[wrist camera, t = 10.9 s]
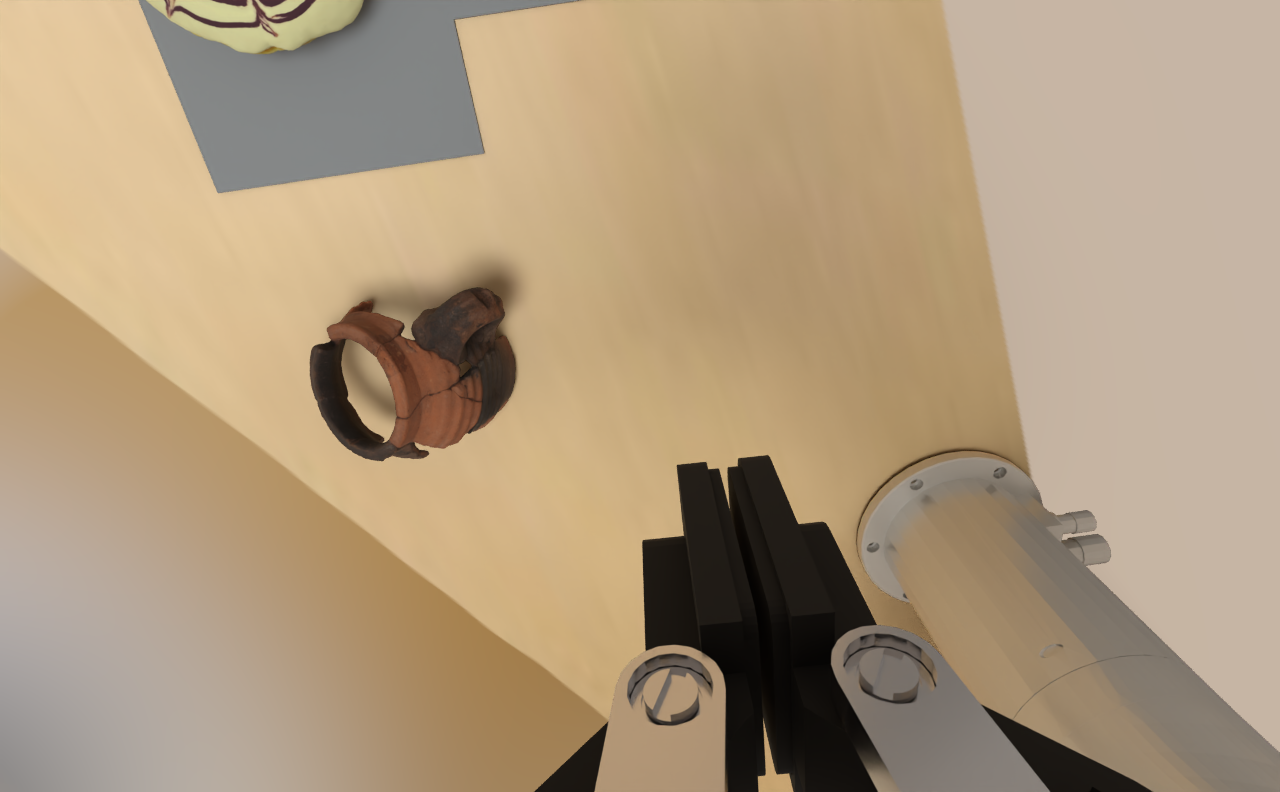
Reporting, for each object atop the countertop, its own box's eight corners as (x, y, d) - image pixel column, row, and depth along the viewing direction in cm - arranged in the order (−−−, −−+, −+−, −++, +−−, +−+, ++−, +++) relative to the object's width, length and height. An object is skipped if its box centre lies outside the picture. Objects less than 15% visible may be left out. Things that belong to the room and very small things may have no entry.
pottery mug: (482, 452, 41) (379, 509, 34) (391, 345, 42) (273, 379, 35) (582, 331, 34) (480, 370, 27) (472, 207, 35) (347, 215, 28)
